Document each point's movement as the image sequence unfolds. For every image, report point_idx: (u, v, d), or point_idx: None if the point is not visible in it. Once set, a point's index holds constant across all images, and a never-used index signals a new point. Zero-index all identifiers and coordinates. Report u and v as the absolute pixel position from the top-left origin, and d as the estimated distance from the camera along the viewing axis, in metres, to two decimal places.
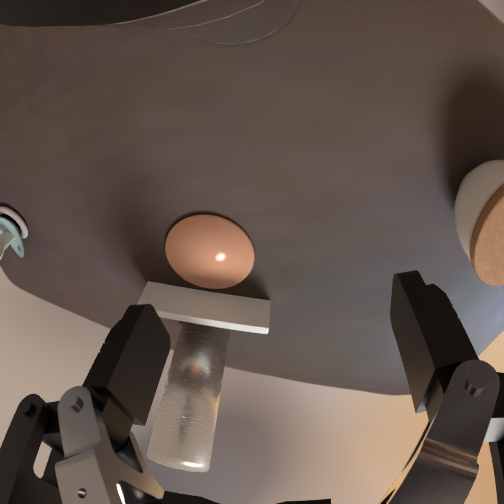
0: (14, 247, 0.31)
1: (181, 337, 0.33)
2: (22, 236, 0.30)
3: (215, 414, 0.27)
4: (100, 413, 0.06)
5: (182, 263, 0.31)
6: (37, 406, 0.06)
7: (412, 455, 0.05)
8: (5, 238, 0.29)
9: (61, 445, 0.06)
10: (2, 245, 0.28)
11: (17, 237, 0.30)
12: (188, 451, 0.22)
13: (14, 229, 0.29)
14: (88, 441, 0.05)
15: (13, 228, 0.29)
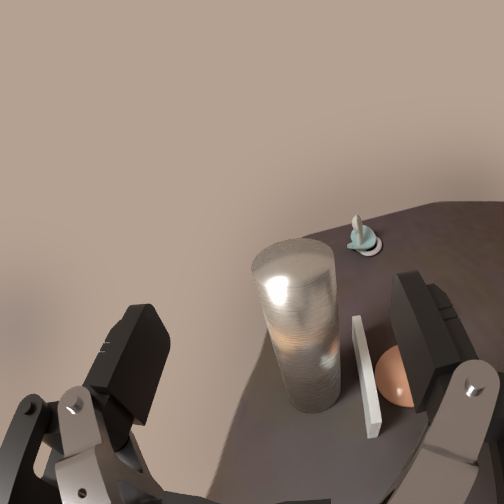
0: (350, 244, 0.51)
1: None
2: (363, 251, 0.49)
3: (314, 343, 0.22)
4: (100, 413, 0.06)
5: (395, 356, 0.31)
6: (37, 406, 0.06)
7: (412, 455, 0.05)
8: (362, 237, 0.51)
9: (61, 445, 0.06)
10: (361, 232, 0.50)
11: (363, 247, 0.50)
12: (333, 274, 0.21)
13: (369, 245, 0.50)
14: (88, 441, 0.05)
15: (370, 245, 0.50)
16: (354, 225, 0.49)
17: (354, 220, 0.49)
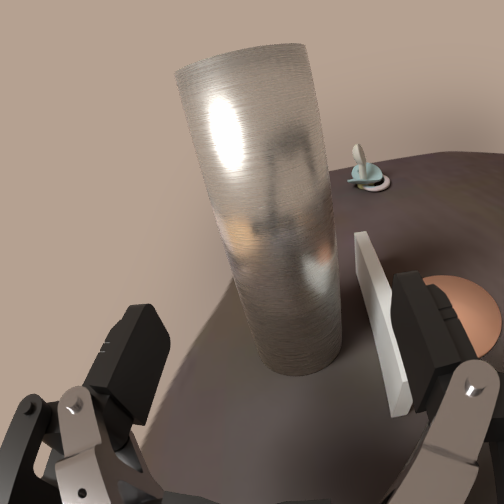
0: (352, 180, 0.41)
1: None
2: (368, 186, 0.39)
3: (284, 194, 0.12)
4: (100, 413, 0.06)
5: None
6: (37, 406, 0.06)
7: (412, 455, 0.05)
8: (365, 171, 0.40)
9: (61, 445, 0.06)
10: (364, 164, 0.39)
11: None
12: (306, 63, 0.11)
13: None
14: (88, 441, 0.05)
15: (375, 180, 0.39)
16: (355, 154, 0.38)
17: (355, 148, 0.38)
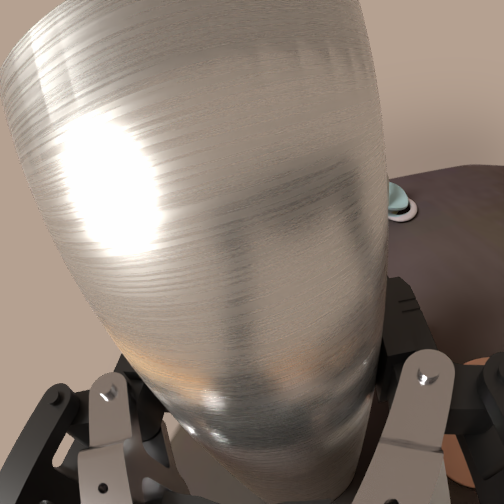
0: None
1: None
2: (392, 215, 0.31)
3: (286, 413, 0.04)
4: (136, 399, 0.07)
5: None
6: (65, 396, 0.06)
7: None
8: (388, 195, 0.32)
9: (86, 439, 0.06)
10: (388, 187, 0.31)
11: None
12: (367, 38, 0.03)
13: (400, 207, 0.31)
14: (117, 432, 0.05)
15: (401, 206, 0.31)
16: None
17: None
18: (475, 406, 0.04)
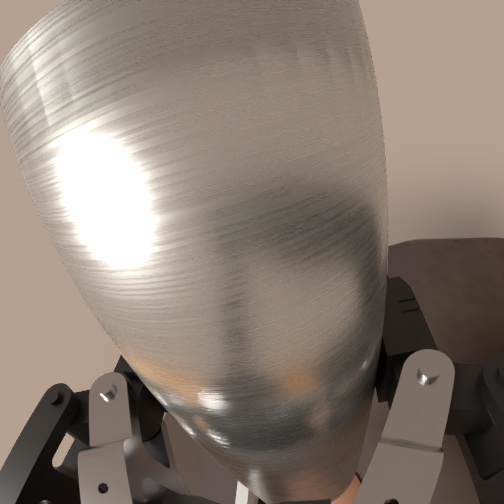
0: None
1: None
2: None
3: (286, 415, 0.04)
4: (136, 399, 0.07)
5: None
6: (65, 396, 0.06)
7: None
8: None
9: (86, 439, 0.06)
10: None
11: None
12: (366, 38, 0.03)
13: None
14: (117, 433, 0.05)
15: None
16: None
17: None
18: (475, 406, 0.04)
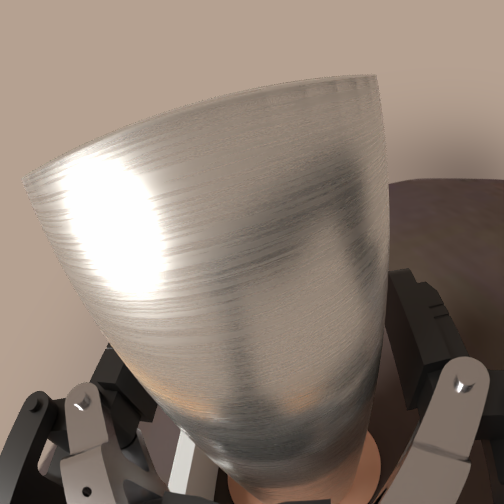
0: None
1: None
2: None
3: (295, 447, 0.05)
4: (108, 409, 0.06)
5: None
6: (43, 403, 0.06)
7: (404, 453, 0.05)
8: None
9: (66, 443, 0.06)
10: None
11: None
12: (384, 139, 0.04)
13: None
14: (94, 439, 0.05)
15: None
16: None
17: None
18: None
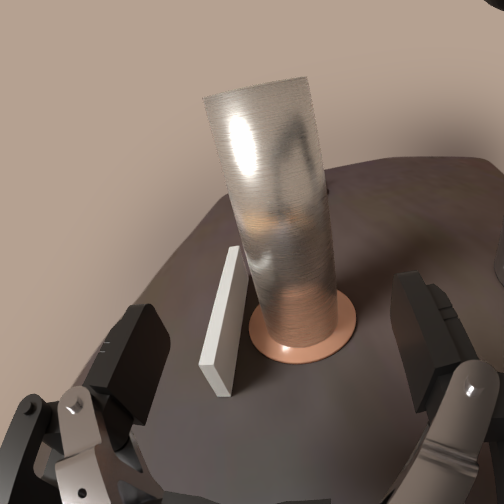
0: None
1: None
2: None
3: (290, 195, 0.16)
4: (100, 413, 0.06)
5: None
6: (37, 406, 0.06)
7: (412, 455, 0.05)
8: None
9: (61, 445, 0.06)
10: None
11: None
12: (308, 92, 0.14)
13: None
14: (88, 441, 0.05)
15: None
16: None
17: None
18: None
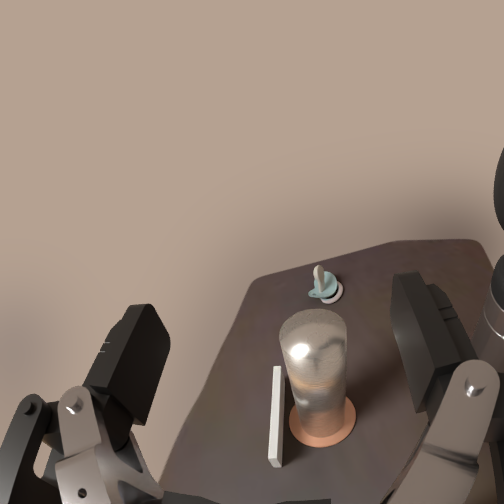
0: (312, 291, 0.57)
1: None
2: (323, 298, 0.55)
3: (327, 391, 0.26)
4: (100, 413, 0.06)
5: None
6: (37, 406, 0.06)
7: (412, 455, 0.05)
8: (323, 285, 0.56)
9: (61, 445, 0.06)
10: (322, 281, 0.55)
11: (323, 294, 0.55)
12: (345, 343, 0.25)
13: (330, 293, 0.55)
14: (88, 441, 0.05)
15: (330, 292, 0.55)
16: (315, 275, 0.54)
17: (315, 271, 0.54)
18: None
